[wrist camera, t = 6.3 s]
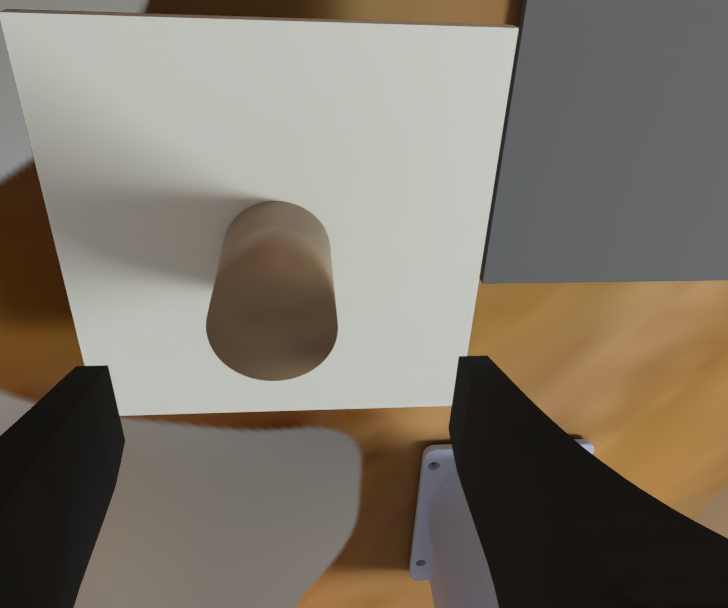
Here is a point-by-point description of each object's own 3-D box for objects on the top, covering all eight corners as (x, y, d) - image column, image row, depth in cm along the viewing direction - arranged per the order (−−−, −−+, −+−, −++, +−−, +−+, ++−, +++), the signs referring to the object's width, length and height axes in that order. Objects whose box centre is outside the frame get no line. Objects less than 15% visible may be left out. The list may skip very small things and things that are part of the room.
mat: (793, 274, 25) (799, 279, 25) (480, 278, 24) (482, 283, 24) (967, -110, 19) (980, -110, 18) (543, -131, 17) (547, -132, 17)
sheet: (455, 396, 22) (489, 497, 18) (100, 406, 21) (57, 516, 17) (512, 24, 16) (582, 61, 12) (6, 8, 14) (-98, 43, 11)
